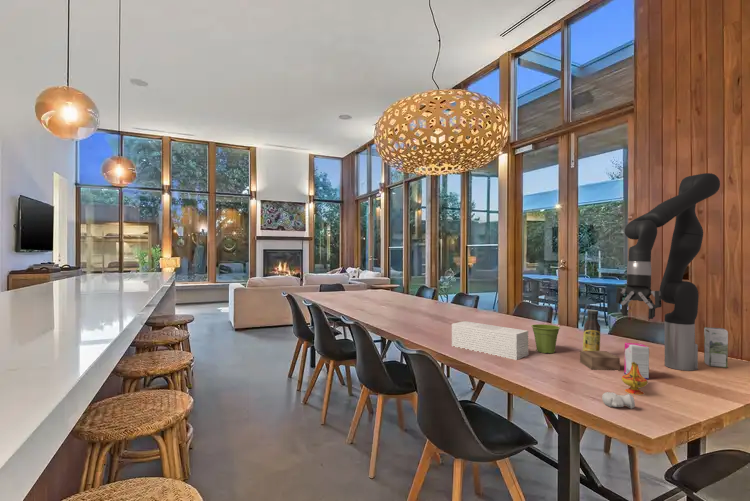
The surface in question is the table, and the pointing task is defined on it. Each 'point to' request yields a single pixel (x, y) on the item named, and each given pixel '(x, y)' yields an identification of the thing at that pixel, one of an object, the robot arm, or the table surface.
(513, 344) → the white textured block
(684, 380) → the table surface
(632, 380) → the magic lamp
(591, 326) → the sauce bottle
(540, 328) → the plant pot
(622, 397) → the smooth white sculpture
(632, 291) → the robot arm
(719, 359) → the syrup box
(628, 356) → the supplement box
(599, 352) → the block
